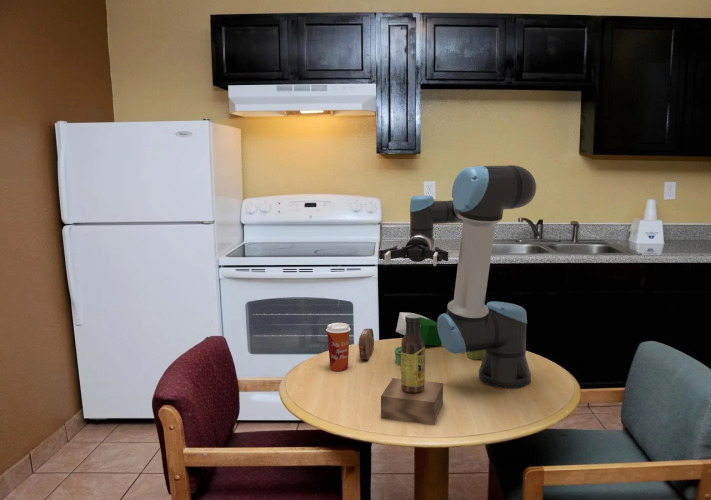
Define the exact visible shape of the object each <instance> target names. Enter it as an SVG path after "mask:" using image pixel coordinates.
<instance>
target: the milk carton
mask: <svg viewBox="0 0 711 500" xmlns="http://www.w3.org/2000/svg"><path fill="white" fill-rule="evenodd" d="M411 314H415V315H419V316H421V322H420V333H421V336H422V339H423V341H424V344H425V346H426V345H427V346H428V345H429V346H442V345H443V344H442V342H441V340H440V337H439V334H438V329H437V322H436V321H435V320H433V319H430V318H429V317H428V318H427V317H425V316H423V315H420V314H417V313H413V312H406V311H405V312H403V311H402V312H399V315H398V320H397V324H396V325H397V326H396V329H395V332H396V333H398V334H401V335H403V336H405V334H406V321H405V316H406V315H411Z"/></svg>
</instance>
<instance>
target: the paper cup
mask: <svg viewBox="0 0 711 500" xmlns="http://www.w3.org/2000/svg"><path fill="white" fill-rule="evenodd" d="M325 331H326V333H327V345H328V346H327V347H328V358H329V367H330V370H331V371H335V372H344V371H346V370H348V369H347V368H349V356H350V355H349V351H350V331H351V327H350V325H349V324H348V323H346V322H332V323H329V324H328V325H327V327H326V329H325Z"/></svg>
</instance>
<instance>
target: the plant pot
mask: <svg viewBox="0 0 711 500" xmlns="http://www.w3.org/2000/svg"><path fill="white" fill-rule="evenodd" d="M466 354H467V357H468V358H469V359H471V360H483V358H484V355H485V350H480V351H473V352H466Z"/></svg>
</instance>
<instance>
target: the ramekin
mask: <svg viewBox="0 0 711 500" xmlns="http://www.w3.org/2000/svg"><path fill="white" fill-rule="evenodd" d="M401 347H402V345H400V346H396V347H395V348H394V350H393V351H394V357H395V363H396V364H397V365H399V366H401Z"/></svg>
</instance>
